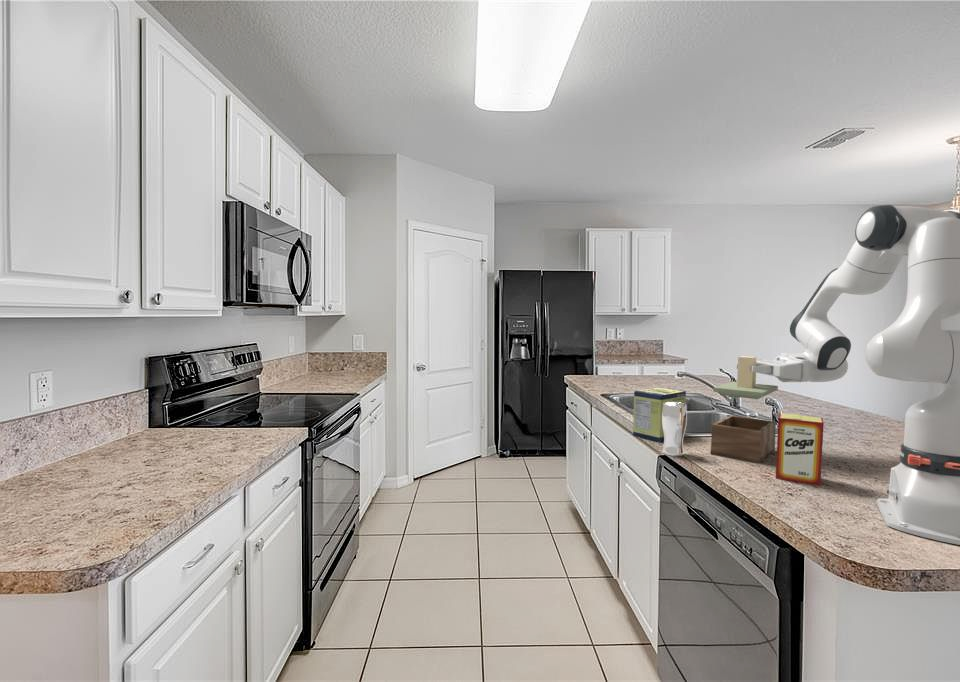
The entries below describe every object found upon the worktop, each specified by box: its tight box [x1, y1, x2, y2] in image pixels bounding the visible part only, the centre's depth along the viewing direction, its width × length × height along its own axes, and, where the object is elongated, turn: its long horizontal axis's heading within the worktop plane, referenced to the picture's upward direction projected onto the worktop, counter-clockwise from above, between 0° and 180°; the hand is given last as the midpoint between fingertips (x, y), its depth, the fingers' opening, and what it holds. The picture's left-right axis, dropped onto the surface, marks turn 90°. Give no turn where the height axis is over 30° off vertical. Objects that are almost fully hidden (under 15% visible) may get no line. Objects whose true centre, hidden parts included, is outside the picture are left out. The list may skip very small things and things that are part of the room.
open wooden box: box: [710, 414, 777, 464], centre depth 152 cm, size 18×13×9 cm
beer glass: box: [662, 402, 688, 457], centre depth 150 cm, size 7×7×15 cm
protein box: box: [632, 386, 687, 443], centre depth 171 cm, size 10×16×16 cm
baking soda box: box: [775, 413, 825, 486], centre depth 128 cm, size 10×6×16 cm
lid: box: [712, 355, 779, 400], centre depth 151 cm, size 18×13×11 cm
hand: (744, 367), depth 150 cm, fingers closed on lid, 6 cm apart
